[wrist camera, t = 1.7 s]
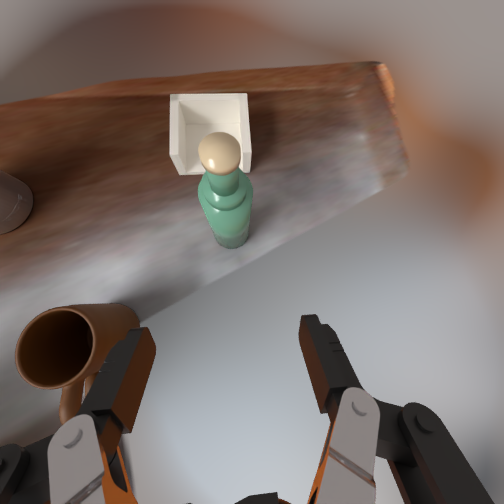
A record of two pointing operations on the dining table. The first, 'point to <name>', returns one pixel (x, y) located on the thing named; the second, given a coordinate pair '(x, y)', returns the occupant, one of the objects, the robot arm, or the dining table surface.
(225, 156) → the green bottle
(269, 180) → the dining table surface
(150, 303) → the dining table surface
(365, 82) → the dining table surface
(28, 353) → the mug
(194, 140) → the holder
